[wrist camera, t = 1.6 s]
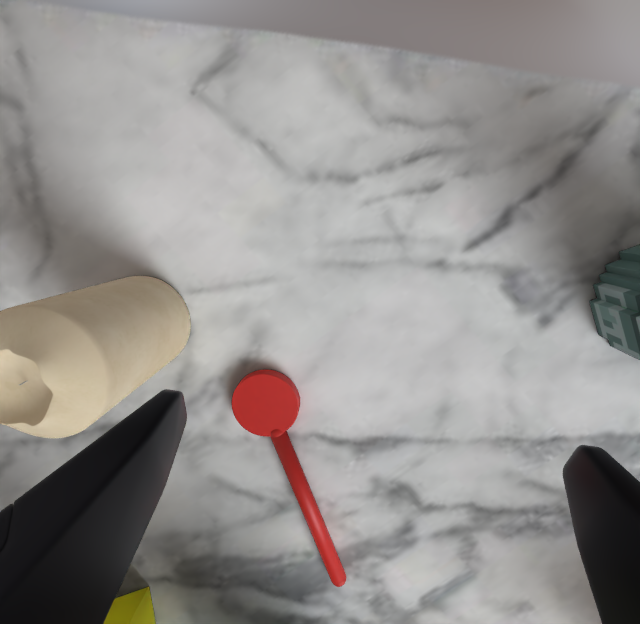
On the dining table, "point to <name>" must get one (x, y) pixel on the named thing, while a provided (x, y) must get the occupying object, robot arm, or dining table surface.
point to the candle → (85, 352)
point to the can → (620, 303)
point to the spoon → (284, 447)
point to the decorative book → (132, 609)
